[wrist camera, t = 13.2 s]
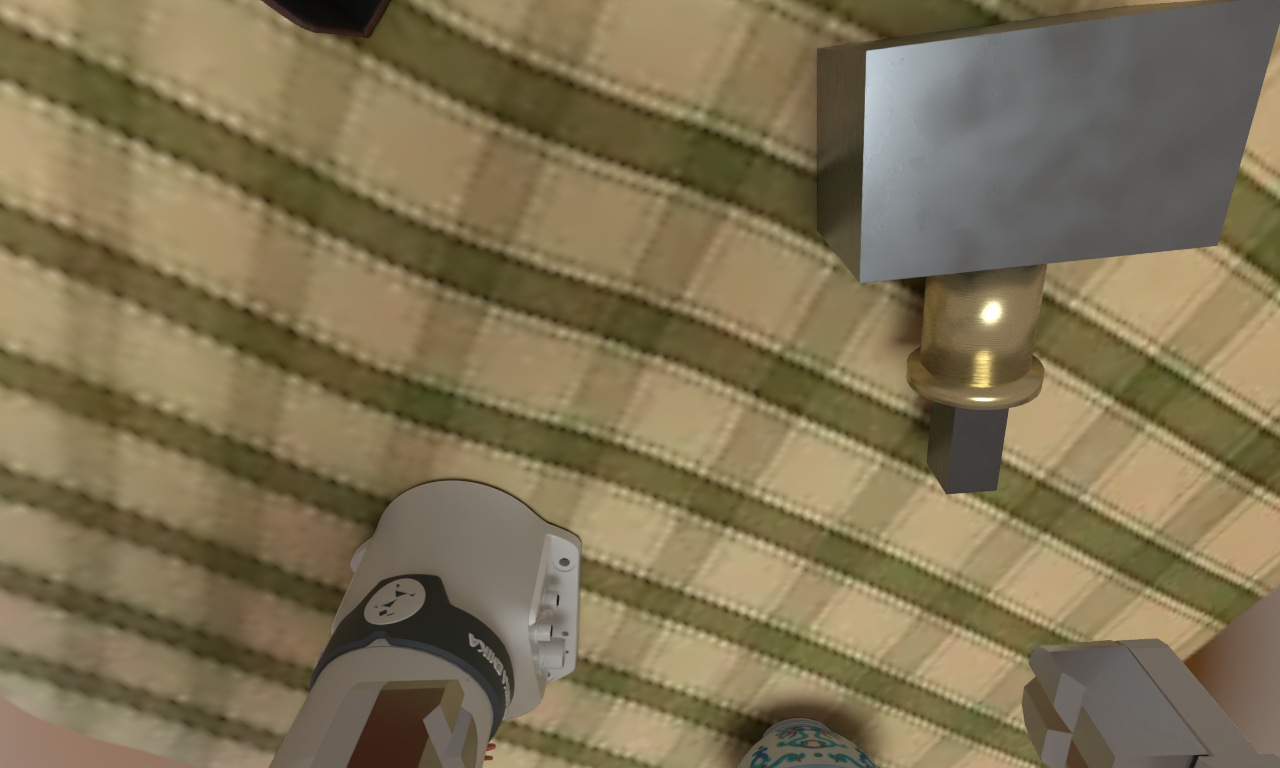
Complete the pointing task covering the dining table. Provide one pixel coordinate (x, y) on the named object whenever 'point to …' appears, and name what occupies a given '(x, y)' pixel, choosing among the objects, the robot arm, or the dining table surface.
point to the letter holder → (332, 15)
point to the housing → (1038, 137)
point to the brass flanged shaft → (976, 368)
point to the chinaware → (804, 748)
